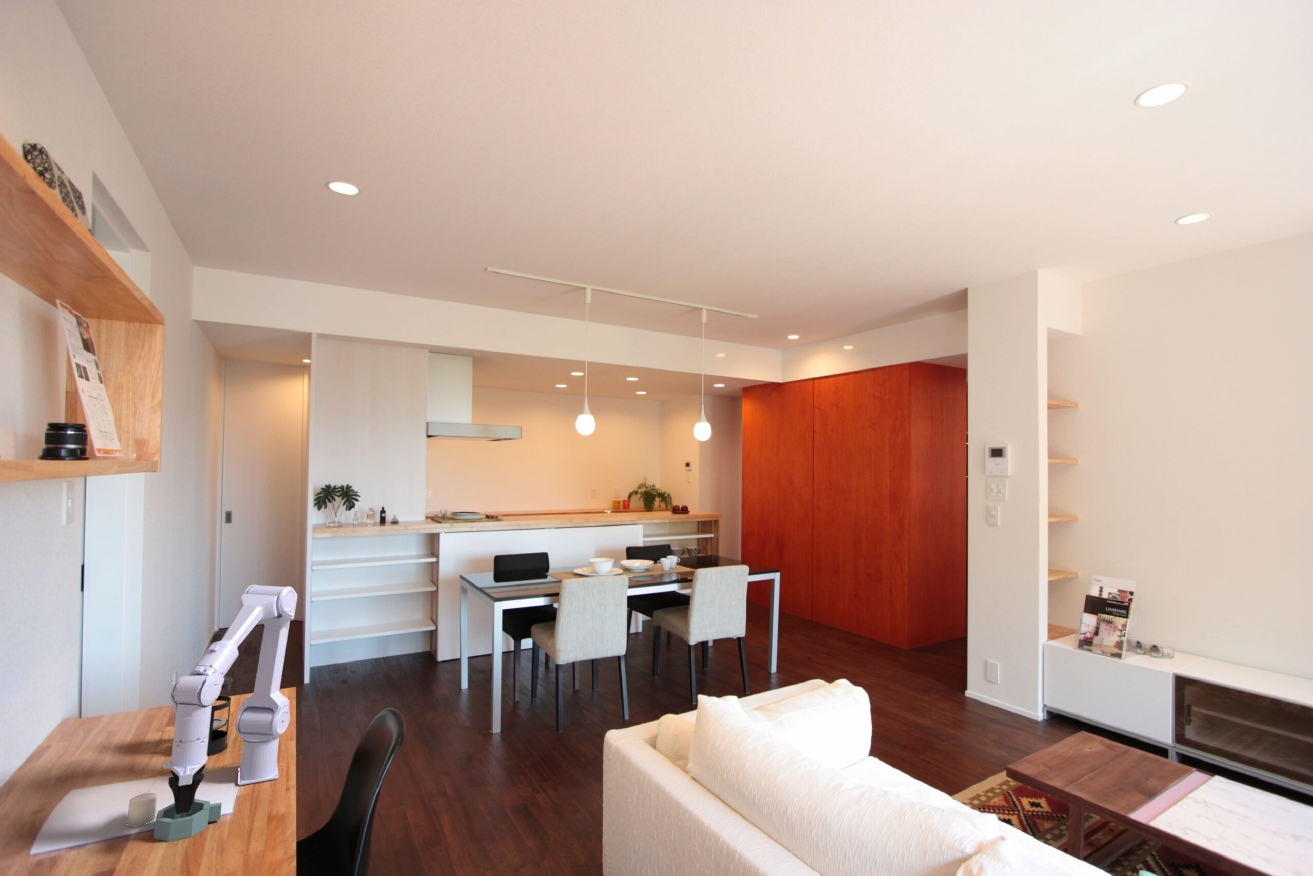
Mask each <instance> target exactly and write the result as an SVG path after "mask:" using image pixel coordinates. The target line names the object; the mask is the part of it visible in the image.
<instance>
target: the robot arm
mask: <svg viewBox="0 0 1313 876" xmlns="http://www.w3.org/2000/svg"><path fill="white" fill-rule="evenodd" d="M297 601H298V594H297V592H296V591H295V589H294V588H293V587H292V586H274V585H258V584H250V585H248V586H247V587H246V588H245V590H244V591H243V593H242V595H241V596H240V598H239V610H238V612H237V613H236V615H235V617H234V619H233V620H232V622H231V623H230V625H229V627H228V628H227V629H226V631H225V633H224V635H223V637H222V638H221V639H220V640H218V641H215V642H213V643H211V644H210V646H209V647H208V648H207V649H206V651H205V652H204V653H203V655H202V656H201V658H200V659H199V661H198V662H197V663H195V666H194V667H193V668H192V669H191V671H190V672H189V673H188V674H186V675H183V676H182V677H181V676H180V678H178V679H177V680H176V682H175V683H174V685H173V686H172V691H171V692H170V693H169V694H170V695H169V698H170V702H171V704H172V705H173V706H172V707H173V710H172V712H173V714H174V715H175V720H174V721H175V722H174V731H173V739H172V749H171V759H170V760H167V761H164V762H163V765H162V766H163V767H162V769H163V770H164V769H170V772H171V774H172V776H170V777H168V783H167V784H168V786H169V788H170V790H171V793H172V796H173V803H175V810H176V814H182V813H187V812H189V811H190V809H191V807H192V803H193V800H194V796H195V797H196V794H197V793H196V792H197V790H198V789H199V786H200V785H201V783H202V781H203V780H204V778H205V773H202V772H203V771H204V769H205V767H206V763H207V762H208V759H209V756H207V747H208V738H209V728H210V718H211V709H212V706H213V704H212V703H215V702H216V701H215V700H216V699H217V698H218V696H219V695H220V694H221V691H222V689H221V686H222V684H223V682H224V678H223V677H224V676H226V674H227V673H228V671H229V670H230V669H231V668H232V666H233V664H234V663H235V661H236V660H237V658H238V656H239V650H238V647H239V646H240V645H241V644H242V642H243V641H244V640H245V639H246V638H247V637H248V635H249V634H250V633H251V631H252V630H253V629H254V627H256V626H257V624H258V623H259V622H261V623H262V624H263V625H264V628H263V633H262V639H261V646H260V652H259V656H258V657H259V659H258V664H257V670H256V671H257V672H256V677H255V682H254V687H253V688H254V690H253V693H252V694H251V695H250V696H249V697H247V698H245V699H244V700H243V701H242V702H241V704H240V705H241V706H240V709H239V712H238V715H237V716H236V719H235V723H234V724H235V731H236V733H237V734H239V735H240V736H239V737H240V738H239V739H240V740H242V747H241V757H240V759H241V760H240V766H239V767H240V782H239V785H238V786H243V785H248V784H249V785H250V784H255V783H261V782H266V781H272V780H277V779H279V769H278V768H279V767H278V766H279V765H278V755H279V754H278V753H279V752H278V751H279V745H280V744H279V742H280V736H282V735H283V733H284V732H286V730H287V729H288V727H289V724H290V720H291V714H290V700H289V699H288V698H287V697H286V696H285V695H284V694H283V693H281V692H280V688H281V683H282V682H281V681H282V674H283V669H284V663H285V656H286V650H287V649H286V648H287V645H288V644H287V643H288V638H289V637H288V636H289V629H290V623H291V621H293V620H294V618H295V613H296V608H297Z"/></svg>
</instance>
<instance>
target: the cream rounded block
mask: <svg viewBox="0 0 1313 876" xmlns="http://www.w3.org/2000/svg"><path fill="white" fill-rule="evenodd" d="M157 805H158V794H157V793H155V792H145V793H142V794H141V793H140V794H137V795H135V796H133V797H132V798H130V799H129V802H128V811H127V820H126V825H127V824H128V825H129V826H138V827H142V826H141V825H143V826H145V825H144V824H146V823H148V822H150V821H152V820H153V819H154V818H155V819H156V815H157V813H156V812H157ZM155 819H154V820H155ZM154 820H153V821H154ZM153 821H152V822H153ZM150 823H151V822H150ZM148 824H149V823H148ZM146 825H147V824H146ZM129 826H128V827H129Z"/></svg>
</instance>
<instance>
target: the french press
mask: <svg viewBox="0 0 1313 876" xmlns="http://www.w3.org/2000/svg"><path fill="white" fill-rule="evenodd" d="M223 678H224V682H223V684H222V686H221V691H222V690H223V691H226V692H228V691H229V690H230V689H231V684H232V683H233V682H234V678H233V677H231V676H226V675H225V676H224V677H223ZM217 701H218V702H223V703H220V704H216V705H213V703H214V702H217ZM214 702H213V703H212V709H211V718H210V728H209V738H208V747H207V756H208V757H211V756H214V755H217V754H221V753H223V752H224V751H225V750H226V749H227V748H228V745H229V743H228V742H227V741H228V736H229V735H228V734H229V725H230V724H229V722H230V714H231V703H232V697H230V696H228V695H220V694H219V696H218V698H217V699H216V700H215V701H214ZM227 708H228V713H227V718H223V717H215V712H218V711H221V710H224V709H227ZM224 727H226V730H224V729H222V728H224Z"/></svg>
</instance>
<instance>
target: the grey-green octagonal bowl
mask: <svg viewBox="0 0 1313 876" xmlns="http://www.w3.org/2000/svg"><path fill="white" fill-rule="evenodd" d="M174 803H175V802H173V803H171V804H169V805H167V806H165V807H164V808H163V807H162V808H160V809H159V810H157V811H156V812H157V813H156V815H155V820H154V821H155V822H154V831H153V839H154V840H159V841H163V842H173V841H178V840H184V839H188V838H192V837H193V836H195V835H197V834H200V833H201V832H203V831H204V830H206V829H208V823H209V822H214V821H218V820H219V821H220V820H221V816H222V815H221V813H222V804H223V802H217V803H211V801H209V800H203V799H199V798H198V799H197V798H195V800H194V803H193V804H192V807H191V809H190V811H189V812H187V813H186V817H184V818H180V814H176V810H175V806H174Z"/></svg>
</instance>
